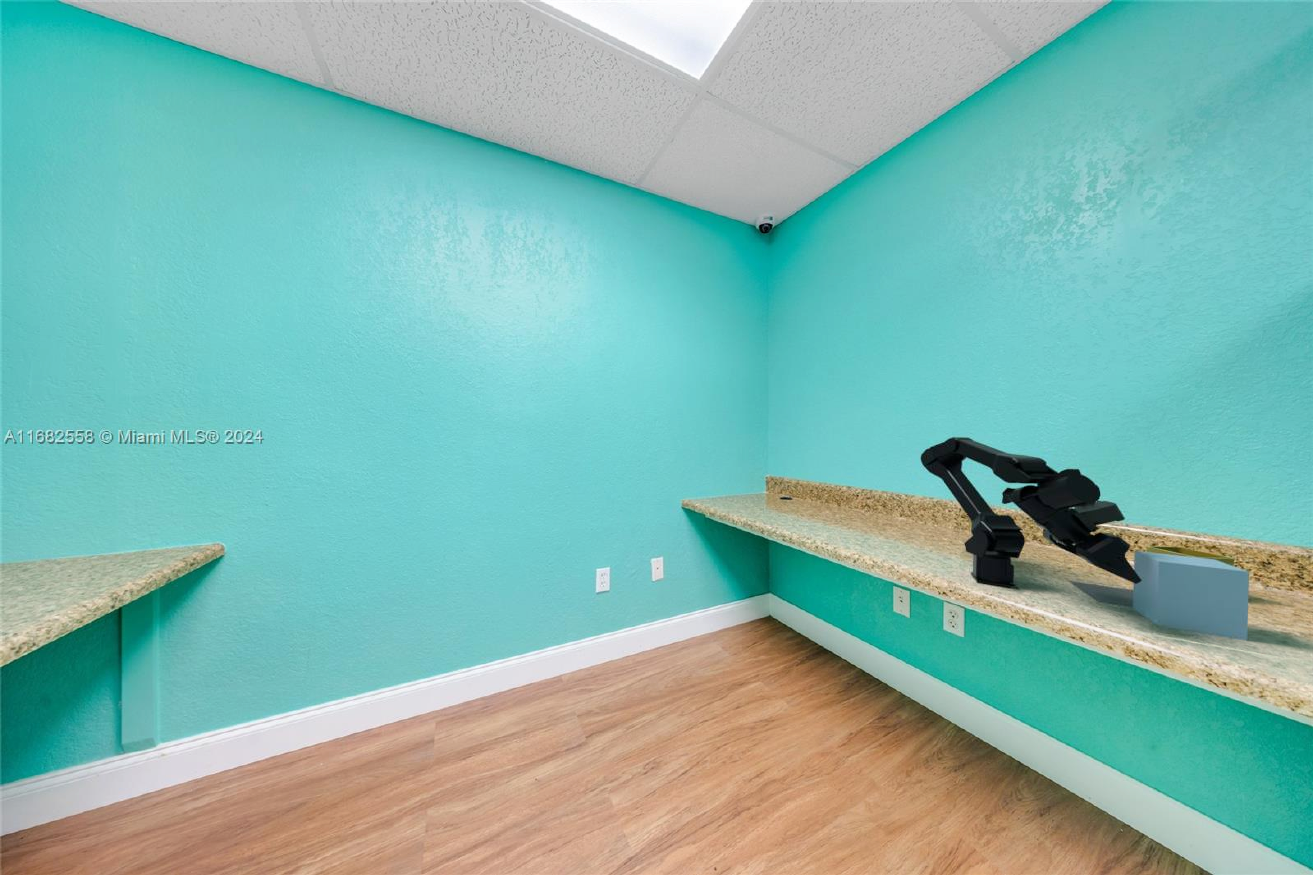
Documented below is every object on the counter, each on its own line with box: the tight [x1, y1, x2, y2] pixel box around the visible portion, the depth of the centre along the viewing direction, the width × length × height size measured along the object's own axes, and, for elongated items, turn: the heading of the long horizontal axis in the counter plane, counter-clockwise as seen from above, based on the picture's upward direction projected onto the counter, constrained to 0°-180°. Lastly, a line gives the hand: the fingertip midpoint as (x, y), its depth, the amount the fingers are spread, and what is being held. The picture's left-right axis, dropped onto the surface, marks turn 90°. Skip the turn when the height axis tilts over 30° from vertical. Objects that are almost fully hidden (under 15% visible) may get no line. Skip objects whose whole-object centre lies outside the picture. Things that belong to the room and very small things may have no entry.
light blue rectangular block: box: [1132, 550, 1250, 641], centre depth 70 cm, size 10×7×12 cm
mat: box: [1067, 580, 1134, 608], centre depth 80 cm, size 16×13×1 cm
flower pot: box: [1145, 545, 1236, 566], centre depth 86 cm, size 9×9×9 cm
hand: (1122, 574), depth 74 cm, fingers open, 9 cm apart
